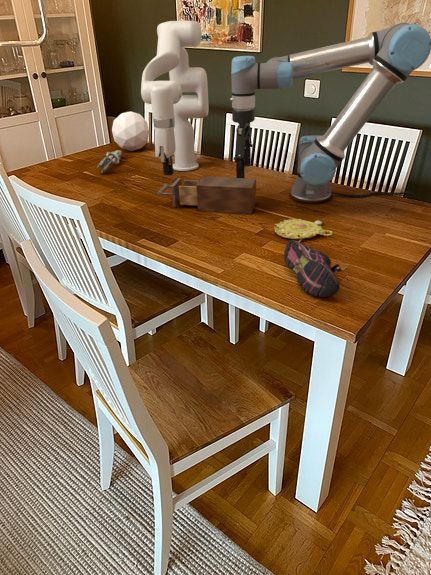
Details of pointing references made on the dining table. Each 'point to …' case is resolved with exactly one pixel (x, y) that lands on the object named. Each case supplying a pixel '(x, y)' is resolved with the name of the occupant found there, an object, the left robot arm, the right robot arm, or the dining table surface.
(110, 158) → the figurine
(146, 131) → the sphere
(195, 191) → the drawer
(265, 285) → the dining table surface
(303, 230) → the decorative object
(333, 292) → the athletic shoe
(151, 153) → the dining table surface
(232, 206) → the dark brown low box
